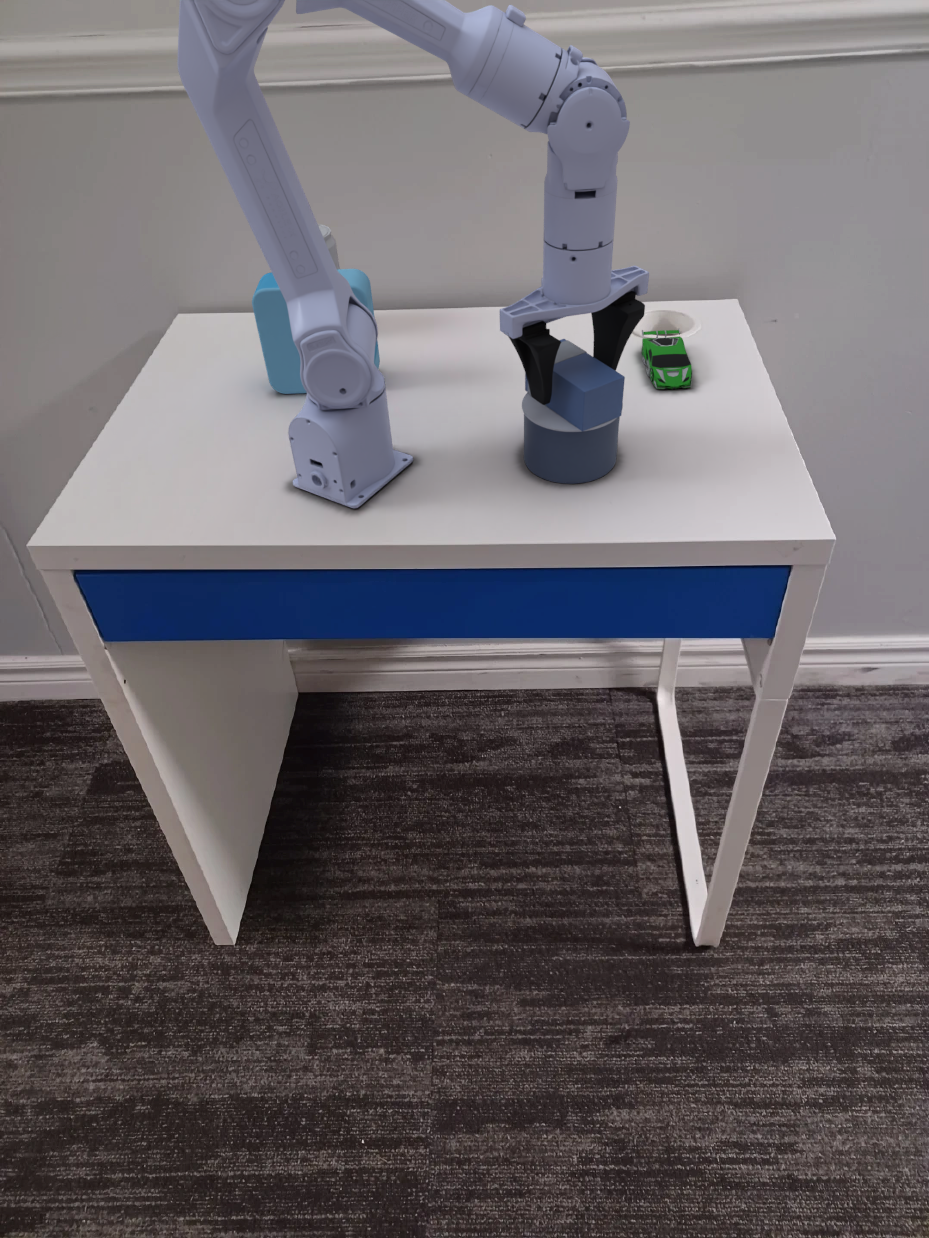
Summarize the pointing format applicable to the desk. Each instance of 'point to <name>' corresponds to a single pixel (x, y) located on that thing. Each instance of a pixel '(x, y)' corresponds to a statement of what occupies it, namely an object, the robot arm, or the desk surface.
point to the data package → (277, 329)
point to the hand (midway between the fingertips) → (572, 387)
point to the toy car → (666, 360)
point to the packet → (584, 388)
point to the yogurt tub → (566, 446)
